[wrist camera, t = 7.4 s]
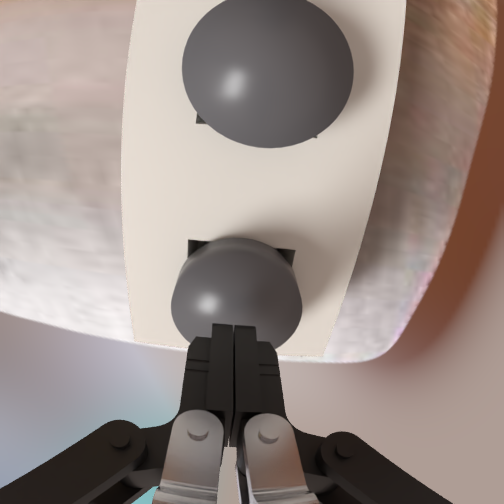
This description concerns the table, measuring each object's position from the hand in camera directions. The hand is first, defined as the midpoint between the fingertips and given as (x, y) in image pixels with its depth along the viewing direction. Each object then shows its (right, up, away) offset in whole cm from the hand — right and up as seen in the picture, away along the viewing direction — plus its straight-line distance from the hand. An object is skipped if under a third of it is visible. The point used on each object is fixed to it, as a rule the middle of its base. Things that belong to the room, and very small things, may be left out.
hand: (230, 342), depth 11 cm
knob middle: (+1, +11, +2) cm, 11 cm away
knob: (0, +3, +6) cm, 7 cm away
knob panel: (+1, +12, +3) cm, 12 cm away
